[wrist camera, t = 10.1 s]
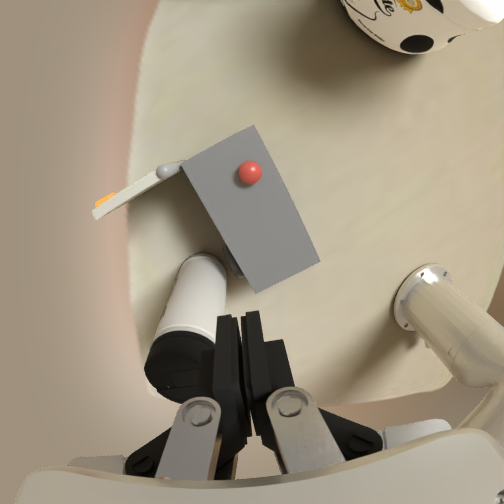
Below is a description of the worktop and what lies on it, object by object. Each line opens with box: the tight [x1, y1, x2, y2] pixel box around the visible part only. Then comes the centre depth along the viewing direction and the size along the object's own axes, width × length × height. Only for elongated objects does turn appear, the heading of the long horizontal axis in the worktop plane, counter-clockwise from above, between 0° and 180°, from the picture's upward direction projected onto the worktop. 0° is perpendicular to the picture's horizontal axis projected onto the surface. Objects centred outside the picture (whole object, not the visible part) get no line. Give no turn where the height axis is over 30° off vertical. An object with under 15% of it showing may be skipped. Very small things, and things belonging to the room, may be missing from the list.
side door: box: [91, 160, 186, 220], centre depth 27 cm, size 9×2×10 cm, turn 116°
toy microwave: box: [181, 125, 320, 294], centre depth 31 cm, size 16×9×7 cm, turn 27°
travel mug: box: [144, 253, 227, 404], centre depth 28 cm, size 6×7×20 cm
